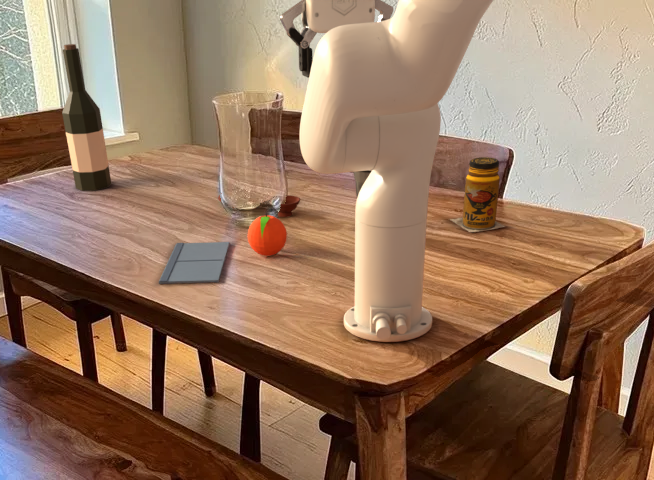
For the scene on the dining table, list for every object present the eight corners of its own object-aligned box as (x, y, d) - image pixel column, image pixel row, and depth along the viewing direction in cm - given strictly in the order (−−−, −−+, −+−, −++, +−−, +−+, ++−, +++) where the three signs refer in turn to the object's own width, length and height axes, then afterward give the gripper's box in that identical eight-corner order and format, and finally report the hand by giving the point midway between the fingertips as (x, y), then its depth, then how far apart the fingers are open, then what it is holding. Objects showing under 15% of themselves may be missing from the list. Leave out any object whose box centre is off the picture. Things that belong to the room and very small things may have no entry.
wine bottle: (74, 183, 188) (48, 44, 172) (109, 179, 190) (87, 41, 173) (77, 192, 181) (51, 48, 165) (113, 188, 183) (91, 45, 167)
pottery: (245, 195, 173) (244, 174, 170) (315, 210, 161) (315, 188, 159) (207, 208, 166) (205, 187, 163) (277, 225, 154) (276, 202, 152)
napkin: (218, 282, 130) (218, 279, 130) (158, 283, 131) (158, 281, 130) (229, 243, 146) (229, 241, 146) (176, 245, 147) (176, 242, 146)
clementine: (283, 264, 136) (281, 223, 132) (244, 263, 137) (241, 223, 133) (290, 248, 142) (289, 209, 139) (253, 247, 144) (250, 209, 140)
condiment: (470, 233, 145) (476, 166, 138) (448, 220, 152) (453, 156, 145) (505, 228, 146) (513, 161, 140) (482, 215, 153) (488, 151, 147)
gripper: (286, -56, 105) (290, 82, 115) (405, -63, 109) (399, 71, 119) (270, -57, 111) (276, 75, 121) (383, -63, 115) (380, 64, 125)
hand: (337, 73), depth 120 cm, fingers open, 9 cm apart
